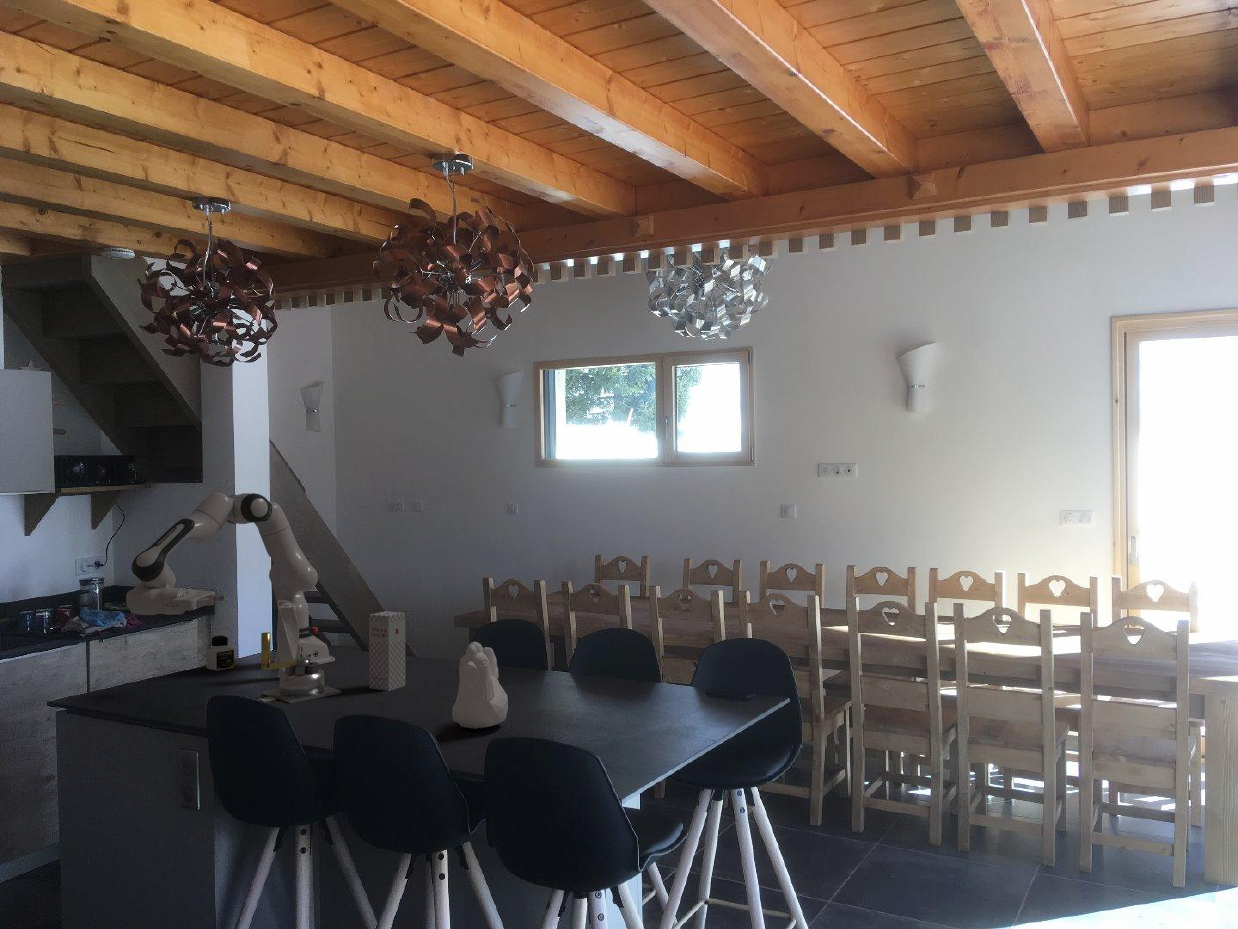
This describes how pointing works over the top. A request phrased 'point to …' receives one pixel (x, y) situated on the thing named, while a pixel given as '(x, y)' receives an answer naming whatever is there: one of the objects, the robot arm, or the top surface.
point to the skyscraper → (287, 633)
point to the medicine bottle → (220, 654)
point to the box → (386, 650)
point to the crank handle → (290, 667)
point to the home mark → (267, 699)
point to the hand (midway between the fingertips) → (218, 600)
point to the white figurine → (479, 690)
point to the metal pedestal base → (301, 687)
